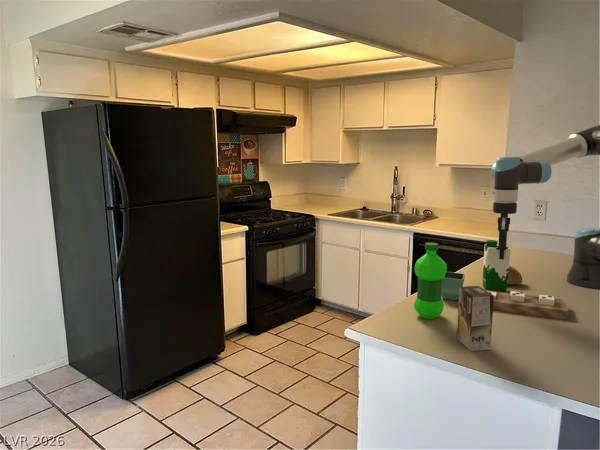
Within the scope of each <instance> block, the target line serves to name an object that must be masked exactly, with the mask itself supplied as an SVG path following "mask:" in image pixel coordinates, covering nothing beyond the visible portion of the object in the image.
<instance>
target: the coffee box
mask: <svg viewBox="0 0 600 450" xmlns="http://www.w3.org/2000/svg"><path fill="white" fill-rule="evenodd" d="M493 301H494V295H492V294H491V293H489V292H487V291H486V290H485V289H484V288H483V287H481V286H479V285H469V286H467V285H466V286H463V287H459V298H458V306H457V307H458V308H457V324H456V325H457V327H456V328H457V329H456V330H457V331H456V339H457V340H458V341H459V342H460V343H461V344H462V345H463V346H464V347H466V349H467V350H469V351H470V352H475V351H476V352H477V351H490V350H491V345H492V344H491V343H492V332H493V331H492V330H493V329H492V328H493V313H494V310H493Z"/></svg>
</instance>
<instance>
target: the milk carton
mask: <svg viewBox="0 0 600 450" xmlns="http://www.w3.org/2000/svg"><path fill="white" fill-rule="evenodd" d="M506 247H508V245H506ZM496 248H498V240H493V239H487V240H486V242H485V244H484V249H483V250H484V253H483V254H484V255H483V263H482V264H483V266H482V267H483V268H482V288H483V287H484V288H483V289H484V290H487V291H495V292H504V293H507V289H508V285H509V284H508V274H509V266H510V260H511V258H510V255H511V248H510V247H508V249H506V263H505V268H497V256H498V250H496Z"/></svg>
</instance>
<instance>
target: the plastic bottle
mask: <svg viewBox="0 0 600 450" xmlns="http://www.w3.org/2000/svg"><path fill="white" fill-rule="evenodd" d="M424 250H426V252H425V254H424V255H422V256H421V257H420V258H418V259H417V260H416V262H415V263H414V264H415V265H414V268H413V270H414V274H415V275H416V277H417V292H416V293H417V295H416V298H415V300H414V303H413V308H414V310H415V312H416V313H418V315H420V317H421V318H423V319H428V320H434V319H436V318H438V317H439V316H441V314H442V313H443V311H444V308H445V302H444V300H443V298H442V296H441V295H442V279H443V278H444V277H445V275H446V272H448V271H447V269H448V266H447V263H446V262H445V260H443V258H442V257H440V256H439V255H438V254H437V251H439V243H437V242H425V243H424Z"/></svg>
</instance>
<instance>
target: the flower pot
mask: <svg viewBox="0 0 600 450" xmlns="http://www.w3.org/2000/svg"><path fill="white" fill-rule="evenodd" d="M465 276H466V274H465V273H461V272H454V271H453V272H452V271H446V275H445V277H444V278H443V279H442V295H441V298H442V300H443V299H445V300H453V301H457V300H459V287H464V282H465V278H466V277H465Z"/></svg>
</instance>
